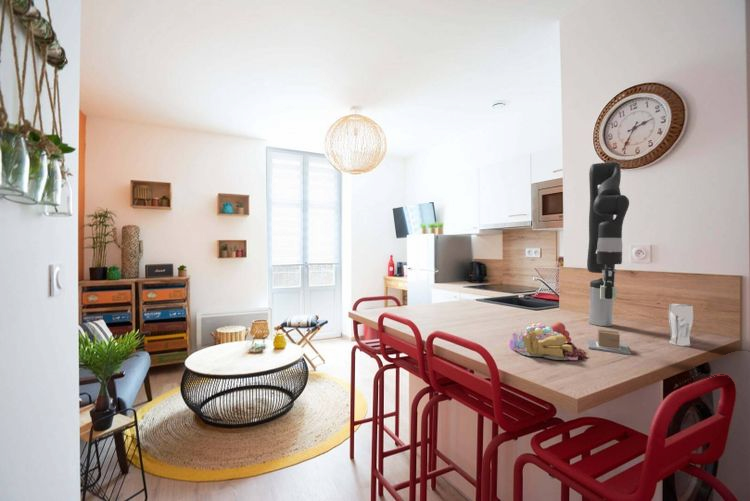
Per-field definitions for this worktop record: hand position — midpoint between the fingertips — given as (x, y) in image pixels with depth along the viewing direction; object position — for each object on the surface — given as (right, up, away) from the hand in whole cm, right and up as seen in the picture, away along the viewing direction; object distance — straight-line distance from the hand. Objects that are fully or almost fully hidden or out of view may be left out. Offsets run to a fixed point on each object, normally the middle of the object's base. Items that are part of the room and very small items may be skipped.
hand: (608, 297), depth 124 cm
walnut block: (0, -17, 0) cm, 17 cm away
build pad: (0, -18, 0) cm, 18 cm away
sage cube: (0, 0, 0) cm, 0 cm away
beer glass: (+31, -19, +6) cm, 37 cm away
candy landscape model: (-25, -18, -4) cm, 31 cm away
